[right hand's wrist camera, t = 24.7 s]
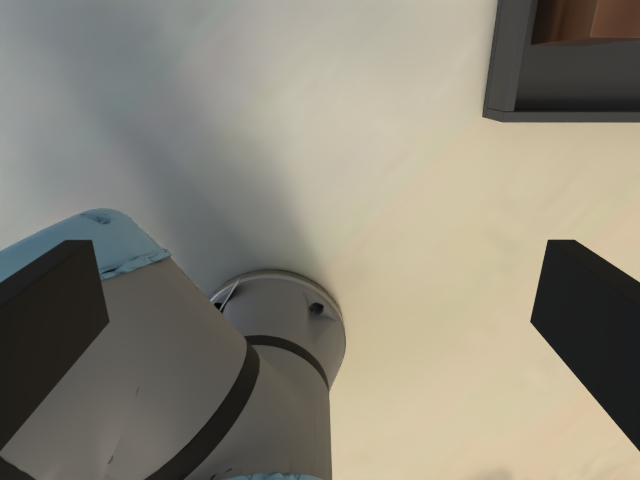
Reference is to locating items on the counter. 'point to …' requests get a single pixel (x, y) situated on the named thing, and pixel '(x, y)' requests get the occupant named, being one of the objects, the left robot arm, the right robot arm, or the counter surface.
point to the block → (586, 22)
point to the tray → (558, 75)
